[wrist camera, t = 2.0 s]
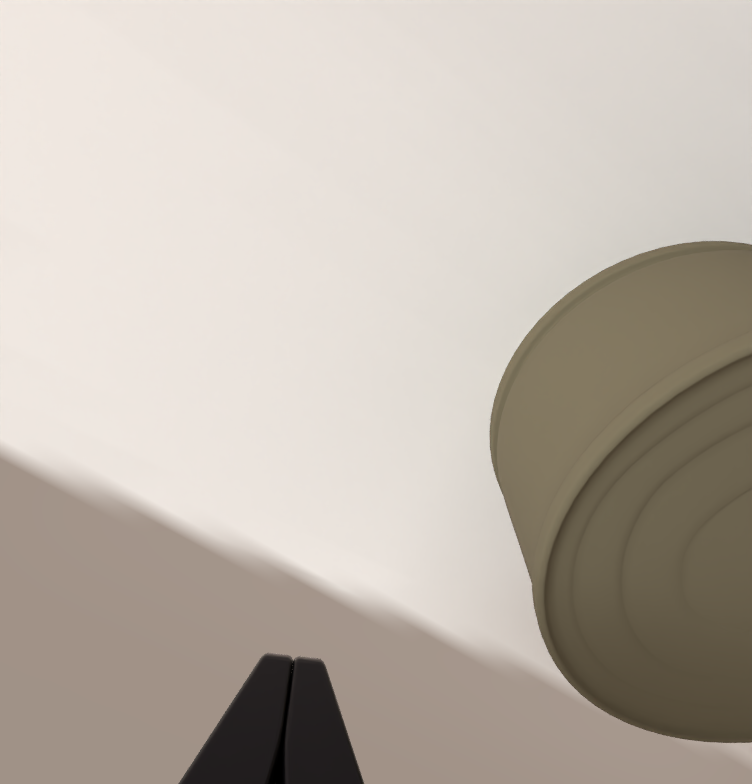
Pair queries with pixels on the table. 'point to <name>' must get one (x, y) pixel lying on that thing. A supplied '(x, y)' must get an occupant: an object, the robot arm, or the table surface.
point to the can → (641, 486)
